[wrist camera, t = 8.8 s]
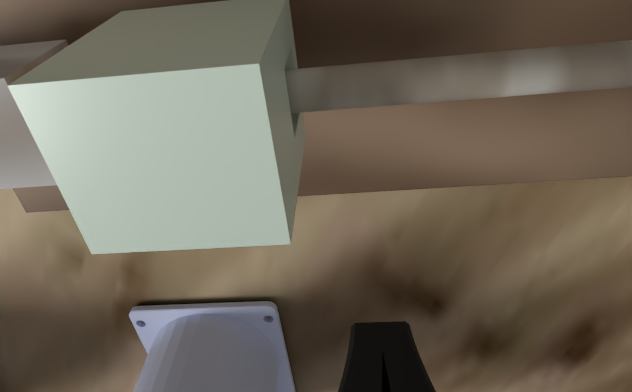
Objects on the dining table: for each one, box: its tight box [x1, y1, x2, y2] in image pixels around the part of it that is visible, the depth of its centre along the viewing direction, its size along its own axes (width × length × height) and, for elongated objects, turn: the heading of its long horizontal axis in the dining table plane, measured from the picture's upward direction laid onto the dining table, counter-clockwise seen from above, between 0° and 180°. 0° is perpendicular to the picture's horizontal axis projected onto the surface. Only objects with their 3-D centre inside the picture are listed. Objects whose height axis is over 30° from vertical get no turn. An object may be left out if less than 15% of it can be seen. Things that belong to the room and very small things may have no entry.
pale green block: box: [8, 0, 306, 254], centre depth 13 cm, size 4×5×6 cm
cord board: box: [0, 0, 632, 212], centre depth 14 cm, size 12×28×6 cm, turn 96°
